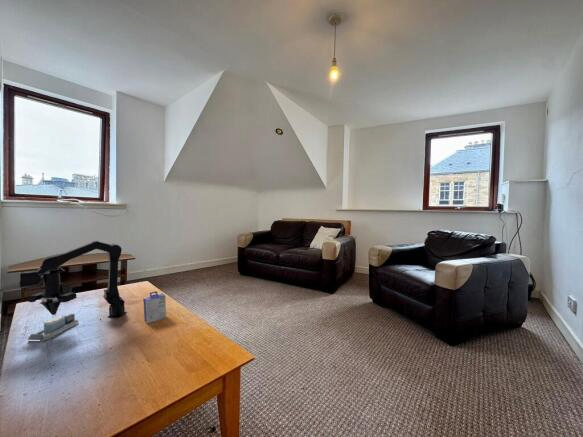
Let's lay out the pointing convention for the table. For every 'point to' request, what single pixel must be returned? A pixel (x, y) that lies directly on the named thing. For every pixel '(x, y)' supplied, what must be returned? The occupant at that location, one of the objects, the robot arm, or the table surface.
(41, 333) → the din rail
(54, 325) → the block
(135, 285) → the table surface
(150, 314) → the ink cartridge box
